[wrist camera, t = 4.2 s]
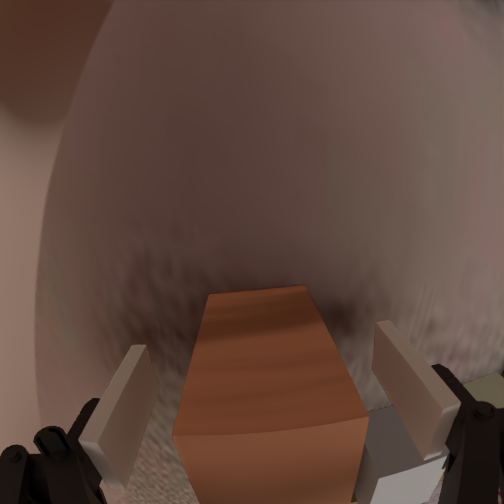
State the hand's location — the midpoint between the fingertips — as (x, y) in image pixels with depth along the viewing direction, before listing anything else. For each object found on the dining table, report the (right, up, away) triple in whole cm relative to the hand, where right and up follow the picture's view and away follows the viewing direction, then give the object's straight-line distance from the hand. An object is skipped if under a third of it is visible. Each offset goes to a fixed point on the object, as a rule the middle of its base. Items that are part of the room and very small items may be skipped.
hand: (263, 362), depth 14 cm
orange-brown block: (0, -5, +4) cm, 6 cm away
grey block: (+9, -9, +6) cm, 14 cm away
